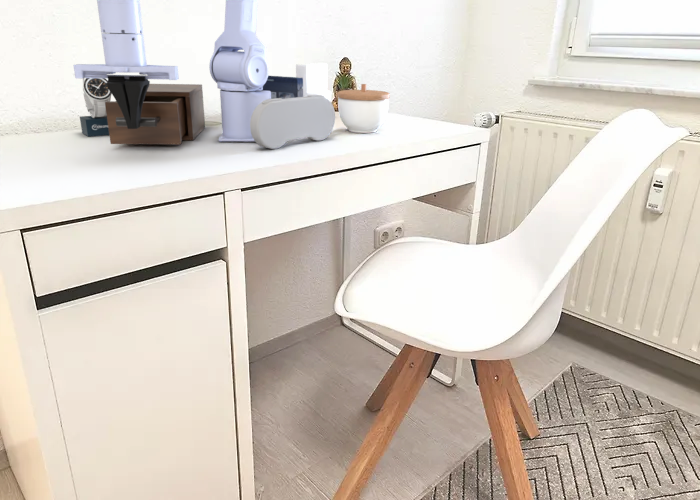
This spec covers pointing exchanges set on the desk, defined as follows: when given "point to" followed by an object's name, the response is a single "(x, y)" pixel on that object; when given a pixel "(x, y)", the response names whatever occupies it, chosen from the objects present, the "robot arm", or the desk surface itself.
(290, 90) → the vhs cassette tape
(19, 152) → the desk surface
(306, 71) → the base with upright slab
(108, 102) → the drawer
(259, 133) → the game controller
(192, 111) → the cabinet
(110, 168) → the desk surface
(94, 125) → the watch
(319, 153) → the desk surface
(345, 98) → the trinket box
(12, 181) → the desk surface
